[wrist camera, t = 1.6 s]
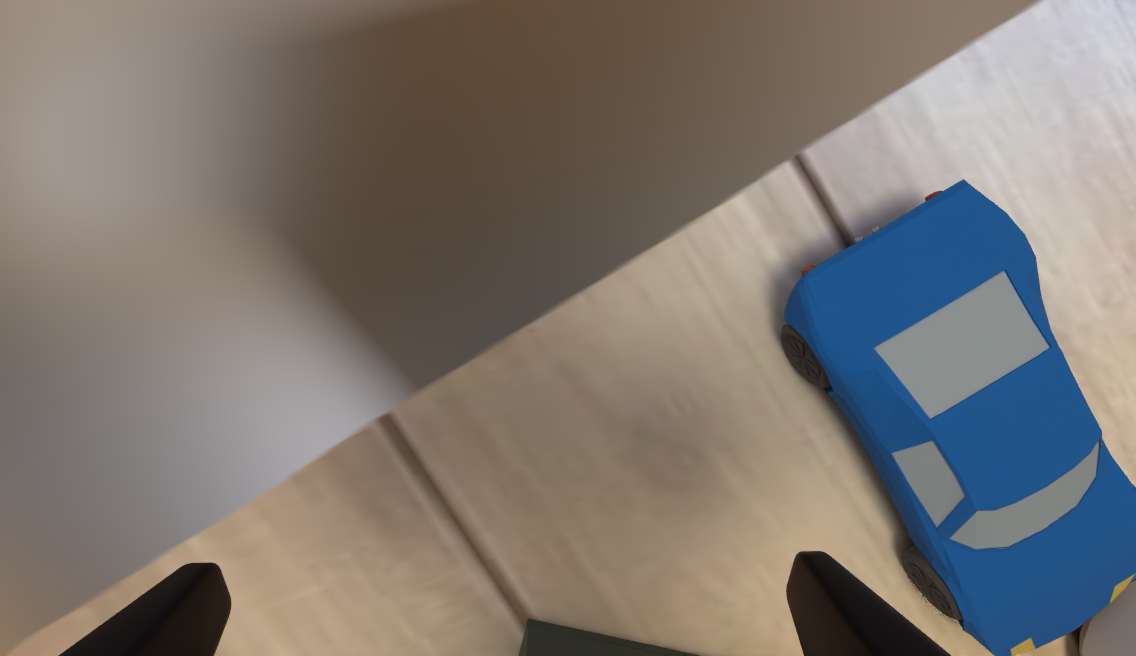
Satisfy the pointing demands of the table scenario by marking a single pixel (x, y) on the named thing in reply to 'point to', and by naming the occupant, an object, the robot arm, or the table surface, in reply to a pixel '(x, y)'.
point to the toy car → (970, 419)
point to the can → (1112, 628)
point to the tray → (582, 643)
